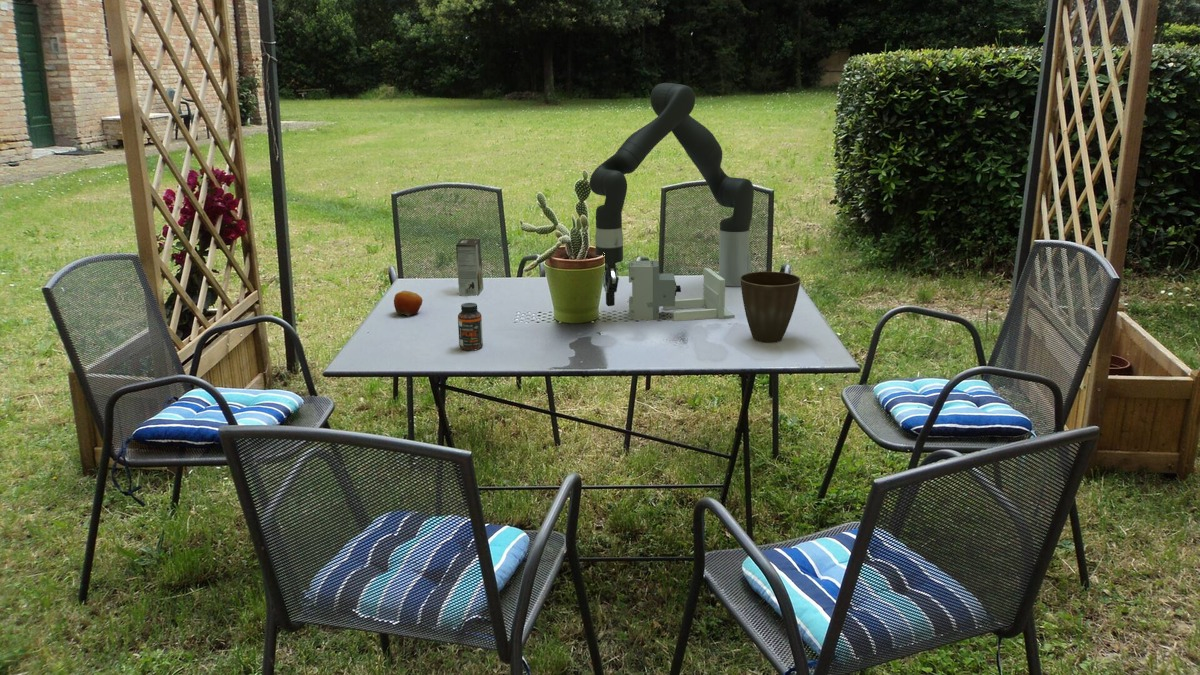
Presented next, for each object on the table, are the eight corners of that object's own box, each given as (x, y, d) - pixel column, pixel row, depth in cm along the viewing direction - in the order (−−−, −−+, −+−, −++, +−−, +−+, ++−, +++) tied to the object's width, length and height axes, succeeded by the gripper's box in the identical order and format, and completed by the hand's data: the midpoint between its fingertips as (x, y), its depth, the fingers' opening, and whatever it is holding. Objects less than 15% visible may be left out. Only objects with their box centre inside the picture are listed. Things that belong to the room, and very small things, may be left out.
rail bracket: (718, 304, 270) (718, 267, 267) (734, 317, 256) (735, 279, 252) (661, 307, 267) (662, 270, 264) (675, 322, 253) (675, 282, 250)
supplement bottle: (461, 352, 231) (458, 308, 227) (457, 345, 236) (455, 302, 233) (485, 349, 232) (482, 306, 229) (481, 342, 238) (478, 300, 235)
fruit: (385, 313, 261) (390, 286, 263) (398, 321, 268) (403, 294, 270) (411, 315, 259) (416, 288, 260) (423, 323, 266) (428, 296, 268)
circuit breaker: (681, 319, 255) (681, 266, 251) (629, 319, 256) (629, 266, 251) (679, 311, 263) (679, 260, 258) (629, 312, 263) (628, 260, 258)
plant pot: (806, 335, 239) (810, 275, 234) (783, 351, 227) (786, 288, 222) (753, 327, 247) (755, 269, 242) (728, 341, 235) (730, 280, 230)
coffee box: (463, 288, 293) (460, 238, 288) (483, 288, 293) (481, 238, 288) (458, 296, 284) (455, 244, 279) (479, 295, 284) (476, 244, 279)
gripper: (627, 247, 245) (628, 310, 250) (617, 238, 258) (618, 298, 263) (600, 249, 244) (601, 312, 249) (591, 239, 256) (592, 300, 262)
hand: (610, 305), depth 256 cm, fingers closed
